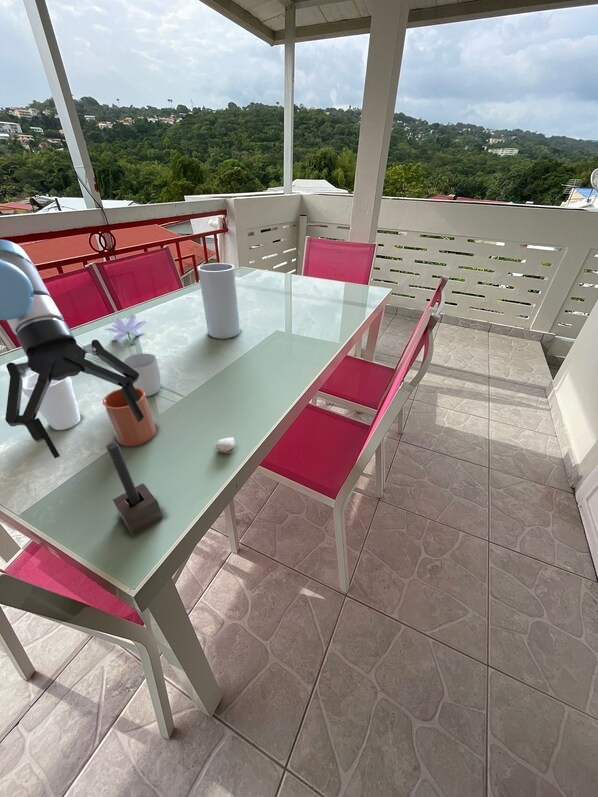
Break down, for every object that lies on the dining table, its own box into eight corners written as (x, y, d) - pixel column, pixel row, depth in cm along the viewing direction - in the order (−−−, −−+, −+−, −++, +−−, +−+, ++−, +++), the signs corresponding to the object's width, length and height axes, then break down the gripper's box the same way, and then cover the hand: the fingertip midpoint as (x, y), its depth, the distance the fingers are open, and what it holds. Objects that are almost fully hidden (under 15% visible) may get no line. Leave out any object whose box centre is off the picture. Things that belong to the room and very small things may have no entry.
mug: (158, 399, 93) (150, 368, 87) (126, 399, 92) (115, 368, 87) (171, 376, 103) (164, 347, 98) (141, 376, 103) (133, 347, 97)
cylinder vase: (214, 342, 124) (204, 273, 110) (204, 330, 133) (193, 265, 119) (245, 335, 129) (239, 268, 115) (233, 324, 138) (226, 261, 124)
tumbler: (109, 440, 78) (93, 403, 72) (136, 420, 85) (123, 384, 79) (138, 450, 76) (124, 412, 70) (163, 428, 82) (152, 391, 76)
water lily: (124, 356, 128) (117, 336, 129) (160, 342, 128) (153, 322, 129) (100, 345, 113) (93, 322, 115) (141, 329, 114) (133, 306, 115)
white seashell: (213, 452, 76) (211, 444, 74) (225, 439, 79) (224, 431, 78) (229, 457, 74) (228, 449, 73) (241, 444, 78) (240, 436, 77)
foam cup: (94, 419, 85) (76, 375, 78) (57, 439, 79) (32, 394, 71) (74, 407, 89) (55, 365, 82) (37, 425, 83) (12, 381, 75)
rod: (135, 519, 61) (103, 447, 51) (141, 512, 62) (112, 441, 52) (142, 521, 60) (111, 450, 50) (148, 515, 62) (120, 443, 52)
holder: (120, 516, 61) (112, 499, 58) (149, 499, 65) (143, 482, 62) (133, 536, 58) (125, 519, 55) (163, 517, 61) (157, 499, 59)
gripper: (115, 320, 67) (166, 411, 67) (-48, 361, 52) (18, 477, 52) (117, 301, 61) (173, 401, 61) (-66, 340, 46) (8, 472, 46)
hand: (102, 436), depth 56 cm, fingers open, 13 cm apart
